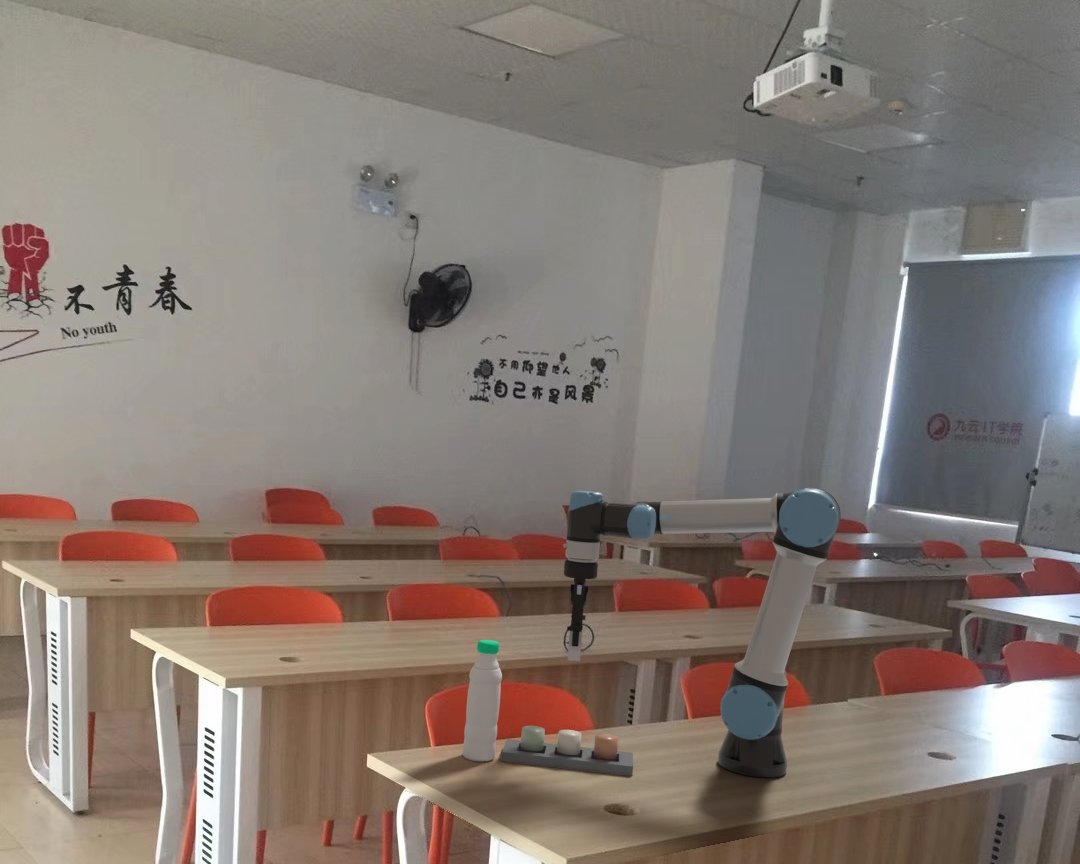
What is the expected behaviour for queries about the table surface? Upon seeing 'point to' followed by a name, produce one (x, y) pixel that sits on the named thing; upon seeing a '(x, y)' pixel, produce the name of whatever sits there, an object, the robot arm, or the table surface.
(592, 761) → the panel
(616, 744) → the button terracotta
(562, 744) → the button ivory
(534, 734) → the button sage
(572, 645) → the robot arm
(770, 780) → the table surface
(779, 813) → the table surface
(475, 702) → the water bottle
